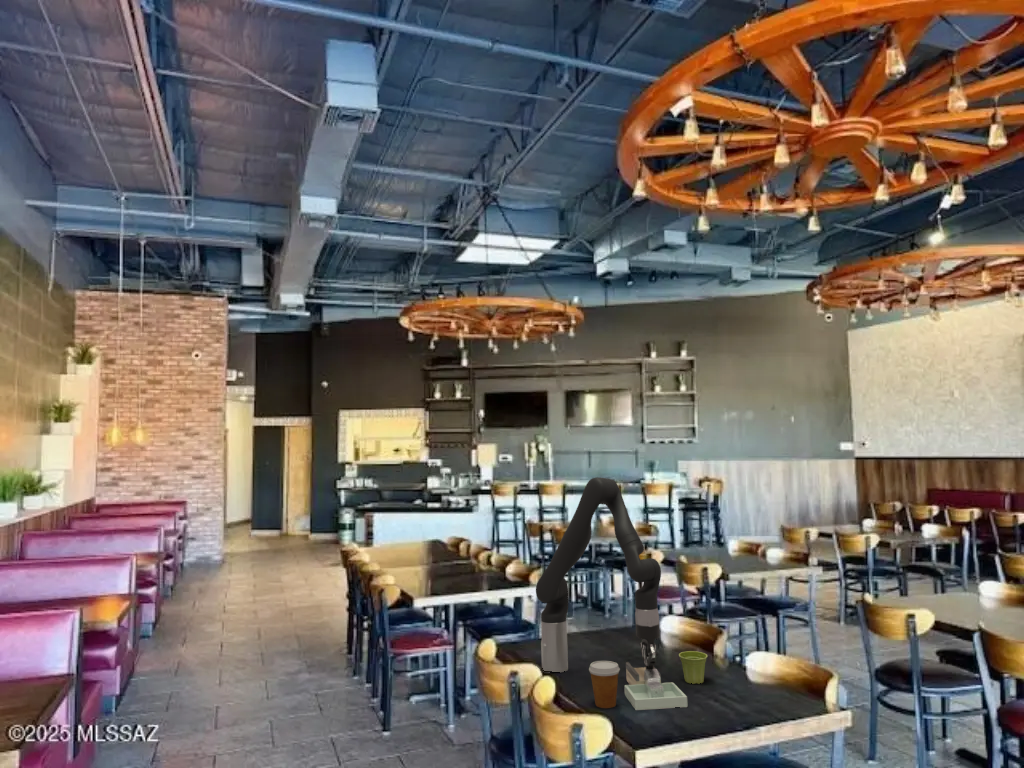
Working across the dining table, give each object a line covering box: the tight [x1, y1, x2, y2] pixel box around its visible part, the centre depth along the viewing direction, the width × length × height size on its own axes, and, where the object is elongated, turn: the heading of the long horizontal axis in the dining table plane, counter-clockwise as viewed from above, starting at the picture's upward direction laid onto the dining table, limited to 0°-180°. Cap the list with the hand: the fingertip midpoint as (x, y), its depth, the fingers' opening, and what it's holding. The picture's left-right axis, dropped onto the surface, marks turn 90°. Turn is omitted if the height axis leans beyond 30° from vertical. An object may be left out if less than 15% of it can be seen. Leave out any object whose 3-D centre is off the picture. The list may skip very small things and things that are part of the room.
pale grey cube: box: [647, 684, 664, 698], centre depth 224 cm, size 4×4×4 cm
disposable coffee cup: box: [588, 660, 621, 709], centre depth 223 cm, size 10×10×12 cm
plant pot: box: [678, 650, 708, 685], centre depth 242 cm, size 9×9×9 cm
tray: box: [623, 682, 688, 711], centre depth 225 cm, size 16×14×3 cm
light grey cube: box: [644, 668, 660, 688], centre depth 228 cm, size 4×4×4 cm
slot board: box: [625, 661, 662, 685], centre depth 239 cm, size 8×14×6 cm, turn 5°
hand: (649, 677), depth 231 cm, fingers closed
